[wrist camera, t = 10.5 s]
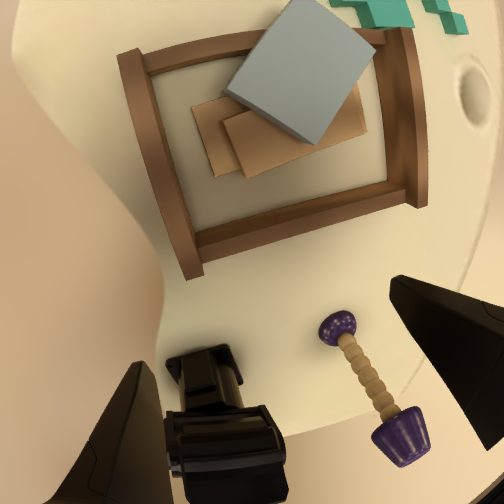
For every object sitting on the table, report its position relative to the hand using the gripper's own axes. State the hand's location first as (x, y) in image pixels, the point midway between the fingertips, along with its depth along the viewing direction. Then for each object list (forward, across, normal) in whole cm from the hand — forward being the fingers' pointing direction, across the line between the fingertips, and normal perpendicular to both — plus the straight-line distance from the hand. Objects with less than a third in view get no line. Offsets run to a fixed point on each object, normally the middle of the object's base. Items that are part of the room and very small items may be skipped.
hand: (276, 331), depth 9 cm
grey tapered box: (+10, -9, -11) cm, 18 cm away
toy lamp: (+13, -8, +16) cm, 22 cm away
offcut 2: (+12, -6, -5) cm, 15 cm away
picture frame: (+13, -6, -4) cm, 15 cm away
